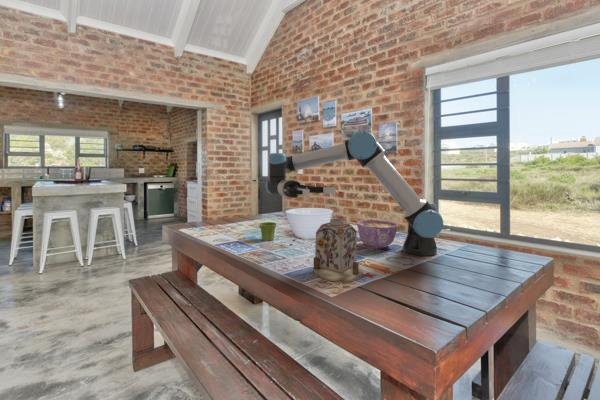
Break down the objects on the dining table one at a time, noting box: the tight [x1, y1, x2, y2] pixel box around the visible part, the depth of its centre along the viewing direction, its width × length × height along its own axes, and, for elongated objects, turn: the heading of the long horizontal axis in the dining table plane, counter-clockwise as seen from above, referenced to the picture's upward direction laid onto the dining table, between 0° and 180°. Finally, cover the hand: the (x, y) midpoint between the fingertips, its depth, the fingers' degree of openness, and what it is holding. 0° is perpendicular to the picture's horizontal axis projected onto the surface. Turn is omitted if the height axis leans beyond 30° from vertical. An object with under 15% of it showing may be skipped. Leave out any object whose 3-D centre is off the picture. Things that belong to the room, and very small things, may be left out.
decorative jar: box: [314, 218, 358, 273], centre depth 121 cm, size 12×12×18 cm
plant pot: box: [258, 221, 278, 242], centre depth 171 cm, size 9×9×9 cm
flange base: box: [312, 256, 364, 283], centre depth 120 cm, size 18×18×6 cm
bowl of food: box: [356, 219, 399, 249], centre depth 159 cm, size 20×20×12 cm
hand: (322, 192), depth 125 cm, fingers open, 13 cm apart
